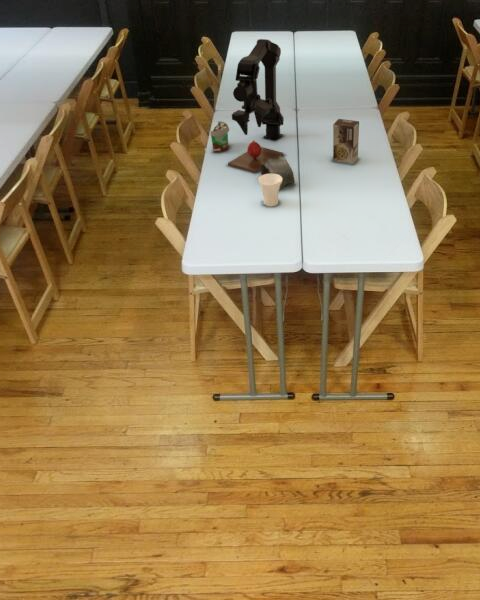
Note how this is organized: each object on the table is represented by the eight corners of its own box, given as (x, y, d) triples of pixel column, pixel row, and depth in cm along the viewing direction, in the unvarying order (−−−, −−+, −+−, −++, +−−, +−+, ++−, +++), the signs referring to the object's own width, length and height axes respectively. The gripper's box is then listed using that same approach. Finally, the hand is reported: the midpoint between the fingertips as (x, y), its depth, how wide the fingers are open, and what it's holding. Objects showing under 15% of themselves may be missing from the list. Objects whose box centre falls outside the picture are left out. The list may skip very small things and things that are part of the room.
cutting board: (256, 148, 272) (256, 145, 272) (283, 155, 266) (283, 152, 265) (228, 165, 259) (228, 162, 258) (255, 173, 253) (255, 170, 252)
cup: (275, 210, 227) (274, 185, 221) (254, 204, 232) (253, 180, 226) (288, 200, 233) (288, 176, 227) (268, 195, 237) (266, 170, 231)
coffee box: (358, 158, 261) (359, 121, 251) (353, 164, 256) (354, 126, 247) (338, 155, 264) (338, 118, 254) (332, 161, 260) (332, 123, 250)
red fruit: (247, 155, 263) (246, 137, 259) (261, 155, 264) (260, 136, 259) (248, 161, 259) (246, 143, 254) (262, 160, 259) (261, 142, 254)
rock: (257, 173, 252) (256, 155, 248) (284, 169, 255) (283, 151, 250) (268, 193, 238) (267, 174, 234) (297, 189, 241) (296, 170, 236)
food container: (226, 154, 268) (224, 132, 262) (212, 153, 269) (210, 131, 263) (234, 143, 277) (232, 121, 271) (220, 142, 279) (218, 120, 273)
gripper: (252, 103, 237) (255, 142, 246) (280, 89, 249) (281, 126, 258) (229, 98, 242) (232, 137, 251) (257, 84, 254) (260, 121, 263)
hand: (252, 130), depth 256 cm, fingers open, 9 cm apart
